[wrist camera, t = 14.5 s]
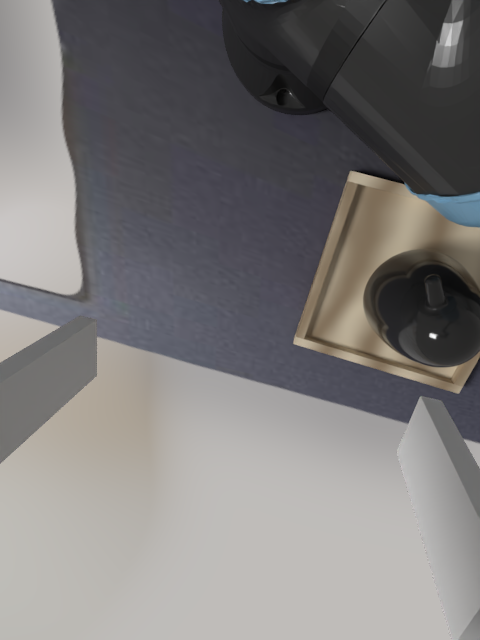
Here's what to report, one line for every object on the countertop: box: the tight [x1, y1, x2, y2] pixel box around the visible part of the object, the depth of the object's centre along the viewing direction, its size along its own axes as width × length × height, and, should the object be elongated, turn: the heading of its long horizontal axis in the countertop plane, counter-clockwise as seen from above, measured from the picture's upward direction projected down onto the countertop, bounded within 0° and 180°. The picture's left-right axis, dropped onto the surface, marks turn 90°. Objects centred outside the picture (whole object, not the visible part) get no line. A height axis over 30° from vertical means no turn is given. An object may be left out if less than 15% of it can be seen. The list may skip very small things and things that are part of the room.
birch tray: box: [293, 171, 480, 394], centre depth 40 cm, size 20×20×2 cm
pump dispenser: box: [363, 249, 480, 368], centre depth 34 cm, size 10×10×15 cm
